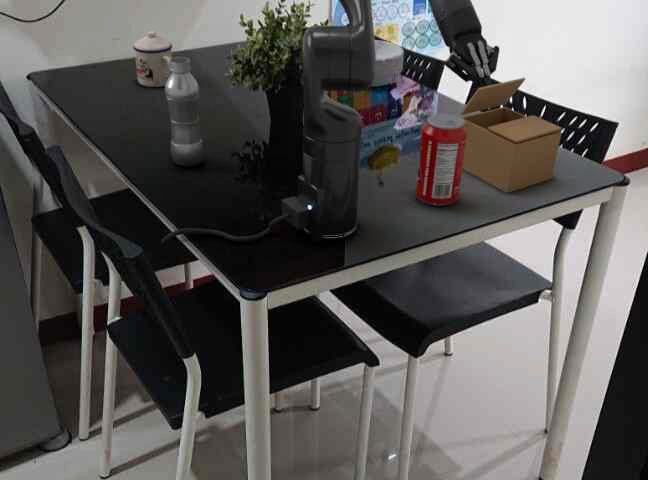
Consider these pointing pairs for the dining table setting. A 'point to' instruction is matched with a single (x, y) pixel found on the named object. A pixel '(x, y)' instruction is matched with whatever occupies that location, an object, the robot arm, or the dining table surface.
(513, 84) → the flap
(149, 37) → the teacup with lid
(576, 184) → the dining table surface
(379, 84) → the paper bowls
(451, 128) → the soda can
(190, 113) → the plastic bottle
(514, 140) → the carton
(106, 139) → the dining table surface
